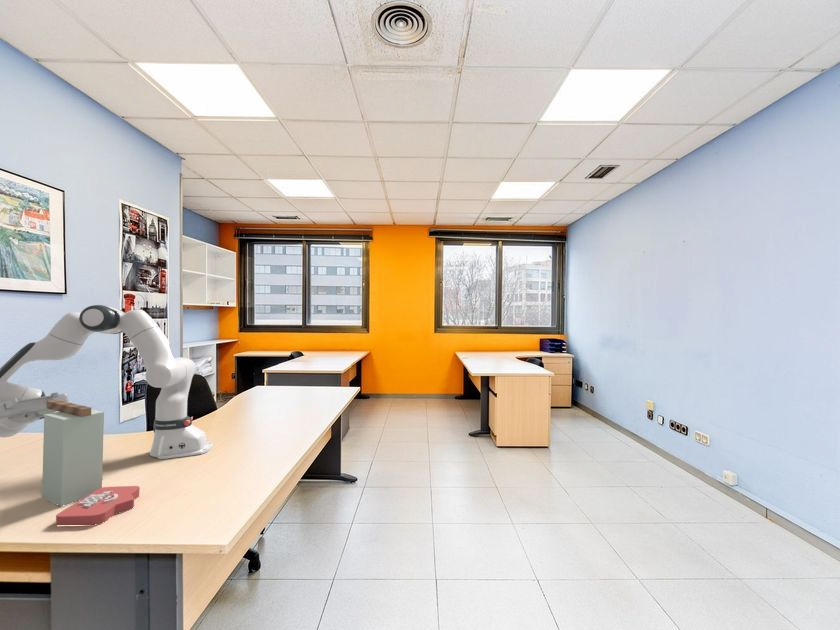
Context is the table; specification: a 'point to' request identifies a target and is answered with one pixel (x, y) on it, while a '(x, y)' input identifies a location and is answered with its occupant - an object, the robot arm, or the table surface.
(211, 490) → the table surface
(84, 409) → the rod
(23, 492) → the table surface
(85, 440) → the pedestal
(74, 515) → the plaque
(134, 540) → the table surface
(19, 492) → the table surface
